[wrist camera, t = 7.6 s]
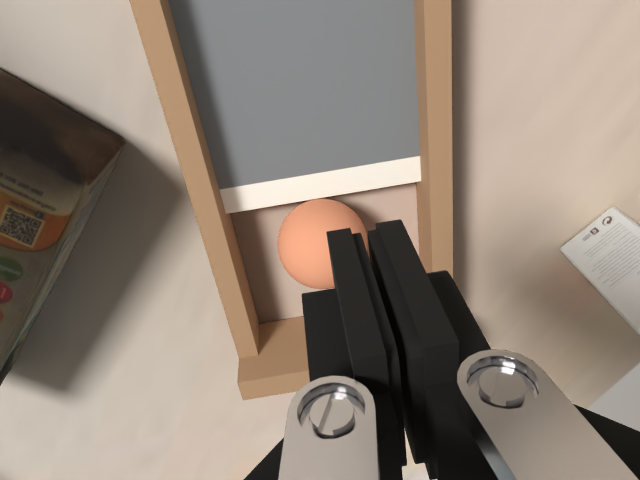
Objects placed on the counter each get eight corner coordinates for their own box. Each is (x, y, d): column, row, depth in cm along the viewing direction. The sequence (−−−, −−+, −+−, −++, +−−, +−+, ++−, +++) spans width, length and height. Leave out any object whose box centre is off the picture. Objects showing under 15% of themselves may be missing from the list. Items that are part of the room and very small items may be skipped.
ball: (282, 247, 31) (264, 190, 28) (361, 230, 31) (353, 171, 28) (292, 314, 28) (273, 261, 24) (379, 295, 28) (374, 239, 24)
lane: (103, -149, 20) (59, -175, 16) (427, -202, 20) (468, -243, 16) (246, 343, 34) (243, 400, 30) (439, 310, 34) (464, 362, 30)
